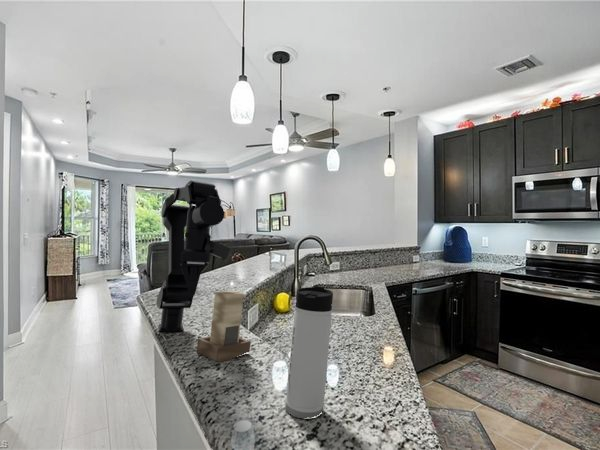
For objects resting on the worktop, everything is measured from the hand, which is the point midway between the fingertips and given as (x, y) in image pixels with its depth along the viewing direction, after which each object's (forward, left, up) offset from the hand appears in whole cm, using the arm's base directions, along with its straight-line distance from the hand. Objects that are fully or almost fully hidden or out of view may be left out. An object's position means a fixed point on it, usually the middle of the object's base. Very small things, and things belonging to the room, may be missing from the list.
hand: (192, 294), depth 78 cm
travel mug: (+33, +16, -13) cm, 39 cm away
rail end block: (+4, +8, -13) cm, 16 cm away
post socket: (+4, +8, -13) cm, 16 cm away
